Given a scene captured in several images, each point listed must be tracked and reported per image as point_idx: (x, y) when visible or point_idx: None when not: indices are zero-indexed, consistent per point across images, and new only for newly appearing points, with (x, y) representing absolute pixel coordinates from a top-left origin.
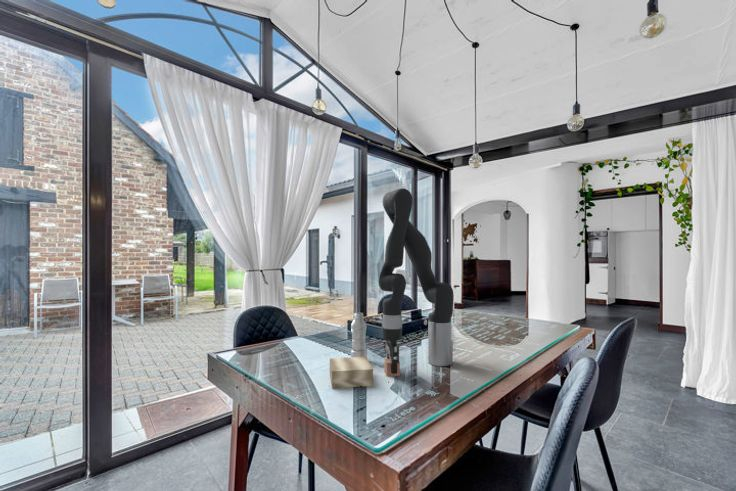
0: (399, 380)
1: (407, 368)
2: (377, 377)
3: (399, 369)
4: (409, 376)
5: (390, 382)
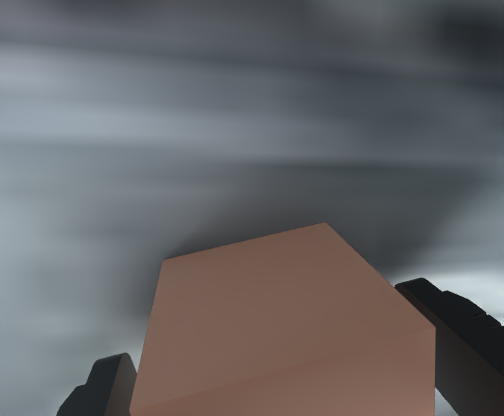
0: (458, 222)
1: (4, 111)
2: None
3: (361, 261)
4: (350, 100)
5: (491, 301)
